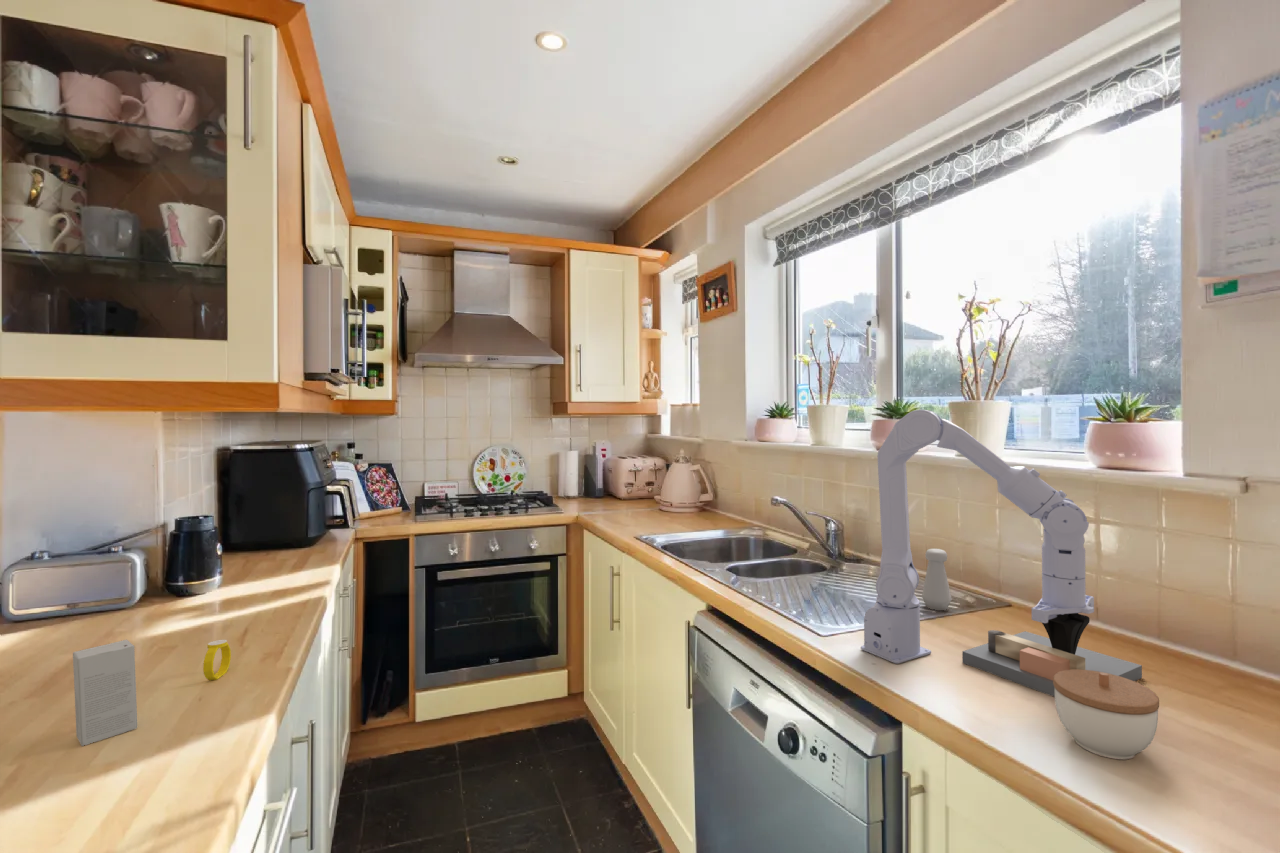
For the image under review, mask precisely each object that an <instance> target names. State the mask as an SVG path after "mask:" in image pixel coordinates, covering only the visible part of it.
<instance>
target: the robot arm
mask: <svg viewBox="0 0 1280 853" xmlns="http://www.w3.org/2000/svg"><path fill="white" fill-rule="evenodd" d="M936 441H938V442H937V445H936V447H937V448H942V449H946V450H951V451H956V452H958V453H959V454H960V455H962V456H963V457H964V458H965V459H967V460H968V461H970V462H972V463H973V464H974V465H975V466H977V467H978V468H980V469H981V470H982V471H984V472H985V473H986V474H988V475H989V476H991V477H992V478H993V479H995V480H996V482H997V492H998V493H999V494H1001V495H1002V496H1003V497H1005V498H1006V499H1008V500H1009V501H1010V502H1011V503H1012V504H1014V505H1015V506H1016V507H1018V508H1019V509H1020V510H1021V511H1022V512H1024V513H1025V514H1026V515H1028V516H1029V517H1031V518H1033V519H1034V518H1035V519H1038V520H1039V522H1040V523H1041V526H1043V534H1042V535H1043V542H1042V544H1041V598H1040V599H1039V601H1038V603H1037V604H1036V605H1035V606H1033V607H1031V621H1035V622H1039V623H1041V624H1042V626H1043V627H1044V629H1045V631H1046V633H1047V636H1048V638H1049V639H1050V642H1051V645H1052V648H1055V649H1058V650H1061V651H1064V652H1068V653H1071V654H1074V655H1075V653H1076V649H1077V647H1079V646H1078V644H1079V642H1080V640H1081V637H1082V634H1083V633H1084V631H1085V629H1086V627H1088V625H1089V624H1090V620H1091V619H1090V616H1088V614H1092V613H1095V597H1094V596H1092V595H1087V594H1086V592H1087V591H1086V589H1087V588H1086V548H1085V547H1084V546H1085V545H1084V544H1085V534H1086V532H1087V531H1088V529H1089V524H1090V522H1088V520H1087V516H1086V514H1085V512H1084V511H1083V510H1082V508H1080V506H1078V504H1076V503H1075V502H1074V501H1073V499H1070V498H1067V496H1068V495H1067V494H1066V492H1064V491H1063V490H1061V489H1060V490H1059V491H1058V490H1057V489H1055V488H1054V487H1053V486H1051V485H1050V484H1048V483H1047V482H1046V481H1045V480H1043V479H1042V478H1041V477H1040V475H1041V473H1040V471H1038V470H1036V469H1035V468H1031V469H1028V468H1027V467H1026V466H1025V465H1024V466H1022V465H1020V466H1011V465H1010V464H1008V463H1006V462H1005V461H1004V460H1003V459H1001V458H1000V457H999V456H997V455H996V454H995V453H994V452H993V451H991V450H990V449H989V448H988V447H987V446H985V445H984V444H983V443H982V442H980V441H979V440H977V439H976V438H975V437H974V436H972V434H970V433H969V432H967V431H966V430H965V429H963V427H961V426H958V425H957V424H955V423H954V422H951V421H950V420H947V419H945V418H941V416H940V415H939V414H938V413H936V412H934V411H932V410H927V409H915V410H912V411H910V412H908V413H906V414H905V415H904V416H903V417H901V418H900V419H899V420H897V421H896V422H895V424H894V425H893V427H892V429H891V431H890V432H889V433H888V435H887V436H886V438H885V439H884V442H883V443H882V445H881V446H880V448H879V449H878V452H877V472H878V473H877V475H878V493H879V509H880V510H879V511H880V512H879V513H880V514H879V515H880V533H881V555H880V556H881V557H880V566H879V567H880V570H879V571H880V572H879V575H878V577H877V579H876V582H875V591H876V594H877V596H876V601H875V604H874V605H873V606H871V607H869V608H868V609H867V610H866V611H865V613H864V617H863V640H864V641H863V644H864V645H861V646H860V649H861V650H862V651H864V652H867V653H870V654H871V655H874V656H876V657H879V658H882V659H883V660H886V661H888V662H891V663H893V664H901V663H905V662H908V661H910V660H914V659H917V658H922V657H923V656H927V655H930V654H932V650H931V649H929V648H925V647H923V646H921V614H920V613H921V612H920V611H921V607H920V604H921V603H920V600H919V599H918V597H917V596H916V594H915V591H916V588H918V586H919V581H920V576H919V573H918V571H917V569H916V567H915V565H914V561H913V553H912V550H911V549H912V548H911V539H910V538H911V537H910V535H911V534H910V519H909V518H910V517H909V516H910V515H909V498H908V497H909V496H908V495H909V494H908V478H907V476H908V475H907V462H908V461H909V460H911V458H912V457H914V455H915V454H917V453H918V452H919V450H921V449H923V448H925V447H927V446H929V445H931V444H933V443H935V442H936ZM1081 613H1082V614H1081ZM1084 614H1087V615H1084Z"/></svg>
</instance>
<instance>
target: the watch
mask: <svg viewBox="0 0 1280 853" xmlns="http://www.w3.org/2000/svg"><path fill="white" fill-rule="evenodd" d="M218 649H219V650H220V651H221V660H220V666H219V668H218V671H216V672H214V662H215V661H214V660H215V658H216V654H217V651H218ZM204 655H205V656H204V659H203V665H202V668H203V669H202V671H203V674H204V677H205V679H207V680H208V681H217V680H218V679H220V678H221V677H222V676H224V675H225V674H227V673H228V670H229V667H230V664H231V659H232V651H231V647H230V644H229V643H228V640H227V639H218V640H217V639H216V640H214V641H210V642H208V643H207V651H206V653H205V654H204Z"/></svg>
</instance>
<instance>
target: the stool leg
mask: <svg viewBox="0 0 1280 853" xmlns="http://www.w3.org/2000/svg"><path fill="white" fill-rule="evenodd" d="M1013 635H1014V634H1010V633H1006V632H1003V631H1001V630H996V629H991V630H988V631H987V643H988V649H989V650H990V651H992V652H995V653H998V654H1001V655H1004V656H1007V657H1010V658H1013V659H1016V660H1018V661H1020V650H1022V649H1025V648H1028V647H1029V648H1032V649H1036V650H1039V651H1042V652H1045V653H1048V654H1052V655H1055V656H1058V657H1061V658H1064V659H1068V660H1070V670H1078V669H1079V670H1085V658H1084V657H1080V656H1077V655H1074V654H1071V653H1068V652H1064V651H1061V650H1058V649H1055V648H1052V647H1049V646H1045V645H1042V644H1039V643H1036V642H1033V641H1029V640H1026V639H1023V638H1020V637H1017V636H1013Z"/></svg>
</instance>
